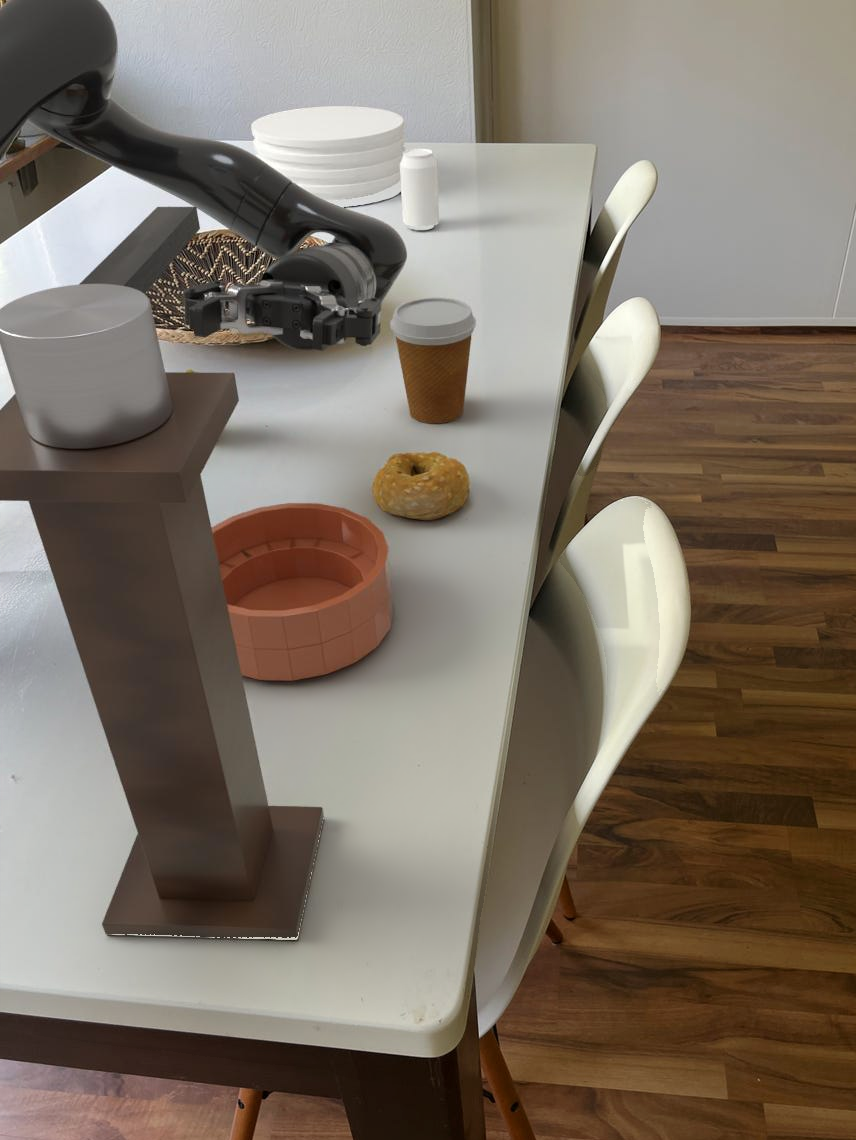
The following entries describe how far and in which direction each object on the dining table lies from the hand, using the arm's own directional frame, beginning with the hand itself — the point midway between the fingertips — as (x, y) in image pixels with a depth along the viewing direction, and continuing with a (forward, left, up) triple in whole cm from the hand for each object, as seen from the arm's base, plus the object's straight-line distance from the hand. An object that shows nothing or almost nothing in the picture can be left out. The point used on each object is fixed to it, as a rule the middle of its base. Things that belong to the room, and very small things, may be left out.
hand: (257, 328), depth 71 cm
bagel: (+8, +21, -26) cm, 35 cm away
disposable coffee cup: (+8, +41, -26) cm, 50 cm away
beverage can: (+1, +112, -26) cm, 115 cm away
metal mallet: (0, -20, +6) cm, 21 cm away
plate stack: (-19, +137, -26) cm, 141 cm away
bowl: (-1, 0, -26) cm, 26 cm away
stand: (0, -27, -26) cm, 37 cm away
